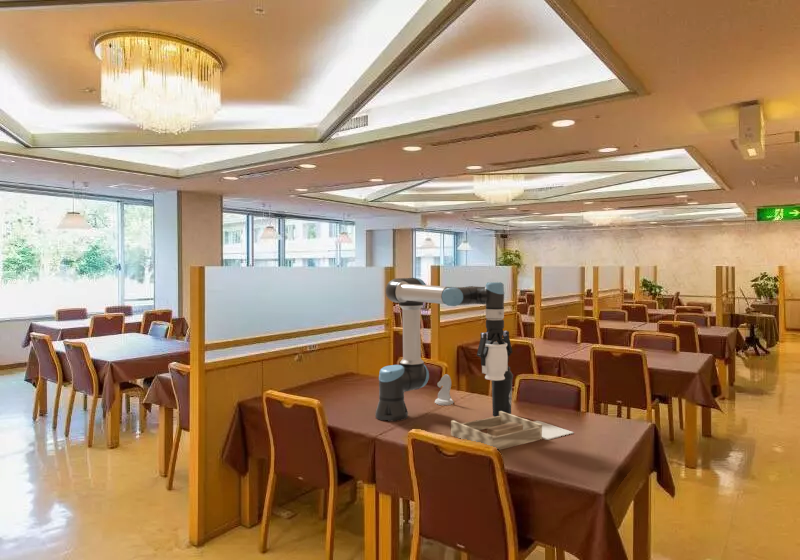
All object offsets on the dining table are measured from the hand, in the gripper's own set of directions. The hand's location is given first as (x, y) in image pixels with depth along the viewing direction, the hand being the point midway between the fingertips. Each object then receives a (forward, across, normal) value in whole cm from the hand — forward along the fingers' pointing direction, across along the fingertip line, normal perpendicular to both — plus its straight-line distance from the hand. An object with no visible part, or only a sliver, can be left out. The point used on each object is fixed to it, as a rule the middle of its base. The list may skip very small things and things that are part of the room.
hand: (494, 372), depth 220 cm
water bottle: (+26, +21, +19) cm, 39 cm away
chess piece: (+26, +12, +52) cm, 59 cm away
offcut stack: (+26, -2, -9) cm, 28 cm away
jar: (+3, 0, 0) cm, 3 cm away
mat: (+26, +21, -7) cm, 34 cm away
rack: (+26, -2, -3) cm, 26 cm away
